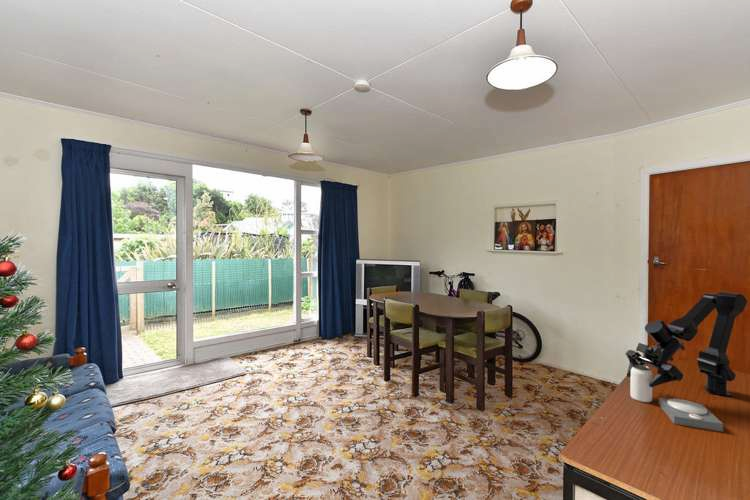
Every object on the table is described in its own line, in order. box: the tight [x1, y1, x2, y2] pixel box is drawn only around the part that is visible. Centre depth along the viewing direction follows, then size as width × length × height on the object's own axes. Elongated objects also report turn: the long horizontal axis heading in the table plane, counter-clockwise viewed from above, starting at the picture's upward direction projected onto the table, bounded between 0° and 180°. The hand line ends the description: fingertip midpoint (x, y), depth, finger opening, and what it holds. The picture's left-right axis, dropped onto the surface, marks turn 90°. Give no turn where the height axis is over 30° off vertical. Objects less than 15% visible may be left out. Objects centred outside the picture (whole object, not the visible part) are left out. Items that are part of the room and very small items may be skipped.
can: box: [629, 365, 653, 403], centre depth 128 cm, size 6×6×12 cm
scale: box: [658, 397, 724, 433], centre depth 115 cm, size 14×12×3 cm
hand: (638, 381), depth 128 cm, fingers open, 9 cm apart
